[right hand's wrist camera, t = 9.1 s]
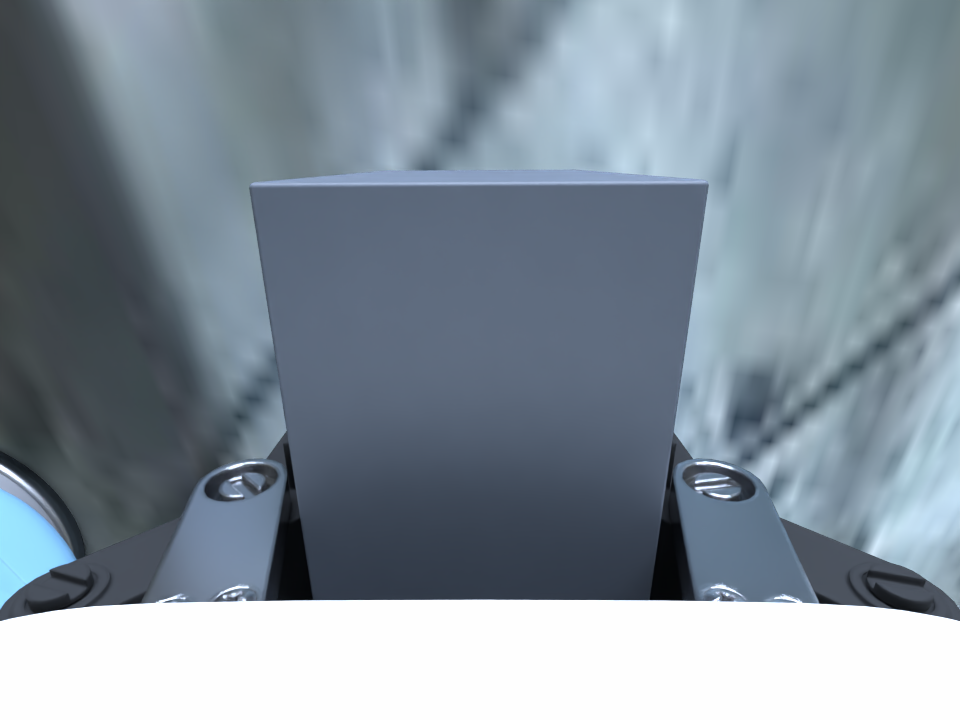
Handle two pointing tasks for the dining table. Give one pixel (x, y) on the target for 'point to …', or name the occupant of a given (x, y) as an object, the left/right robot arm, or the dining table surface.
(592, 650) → the right robot arm
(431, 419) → the bar
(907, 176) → the dining table surface
